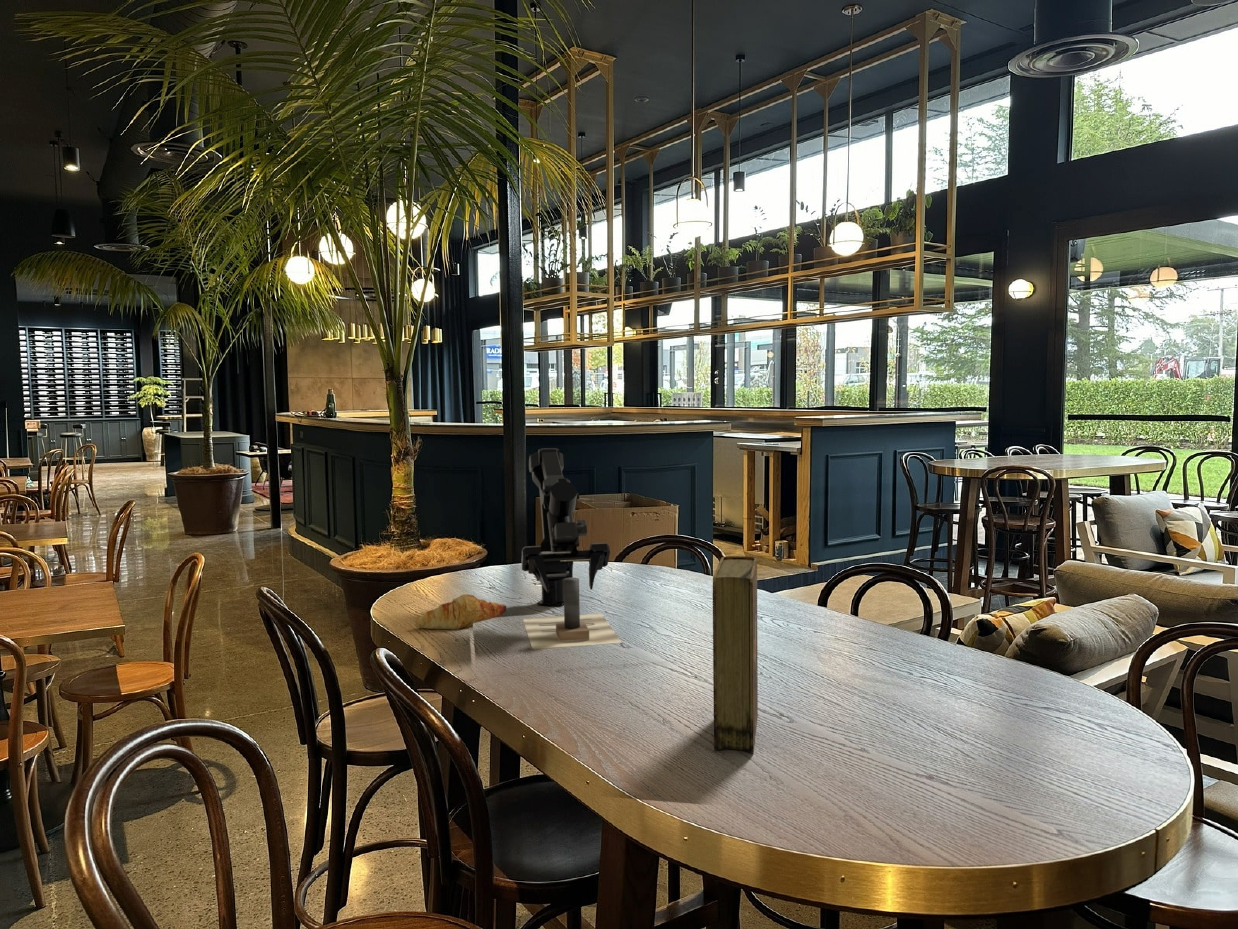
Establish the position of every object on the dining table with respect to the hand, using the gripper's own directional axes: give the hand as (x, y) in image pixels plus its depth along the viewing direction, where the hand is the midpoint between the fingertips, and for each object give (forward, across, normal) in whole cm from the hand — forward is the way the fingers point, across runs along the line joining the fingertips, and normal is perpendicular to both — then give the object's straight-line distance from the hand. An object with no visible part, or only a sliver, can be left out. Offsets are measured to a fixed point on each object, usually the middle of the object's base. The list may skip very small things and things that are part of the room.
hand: (569, 589), depth 176 cm
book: (+47, +17, -32) cm, 59 cm away
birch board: (+5, 0, +9) cm, 10 cm away
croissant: (-5, -22, +20) cm, 31 cm away
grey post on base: (+8, 0, +5) cm, 10 cm away
